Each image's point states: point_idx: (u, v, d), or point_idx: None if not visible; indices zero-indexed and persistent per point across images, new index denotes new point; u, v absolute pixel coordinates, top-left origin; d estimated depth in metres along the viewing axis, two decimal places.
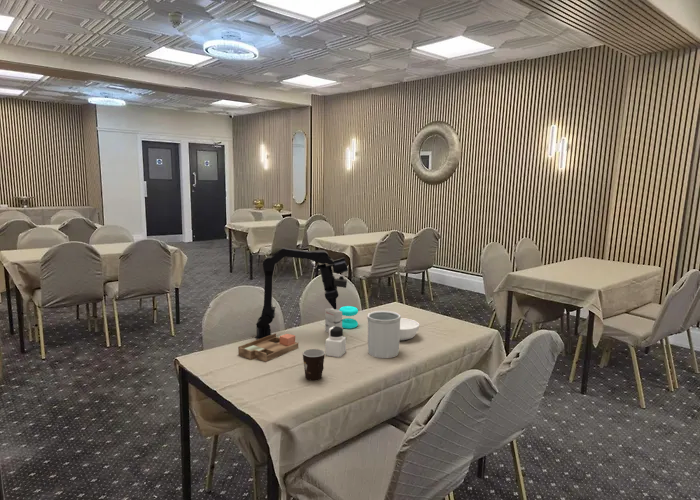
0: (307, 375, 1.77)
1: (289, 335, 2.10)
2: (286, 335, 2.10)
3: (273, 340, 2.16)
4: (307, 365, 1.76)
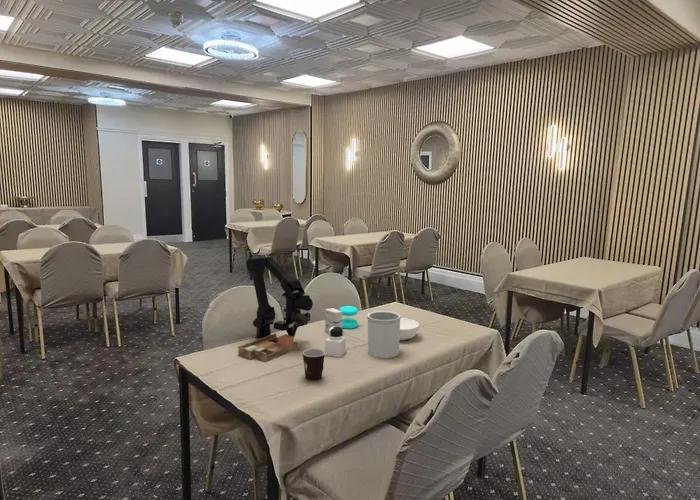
0: (307, 375, 1.77)
1: (287, 336, 2.09)
2: (284, 336, 2.09)
3: (273, 340, 2.16)
4: (307, 365, 1.76)
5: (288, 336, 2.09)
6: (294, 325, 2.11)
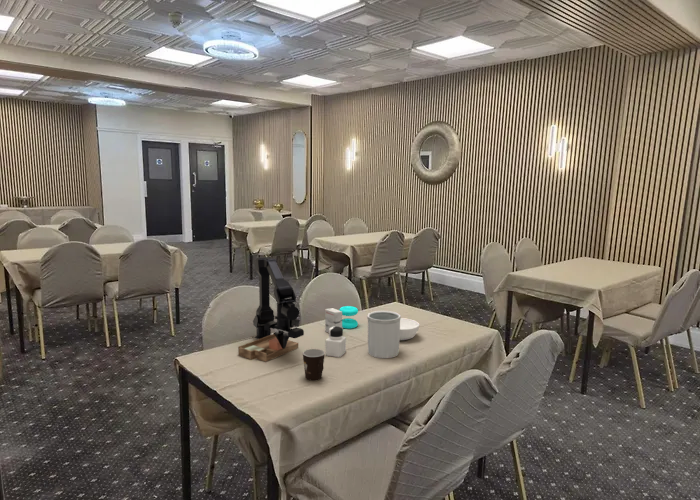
0: (307, 375, 1.77)
1: None
2: (276, 339, 2.04)
3: None
4: (307, 365, 1.76)
5: None
6: (283, 332, 2.02)
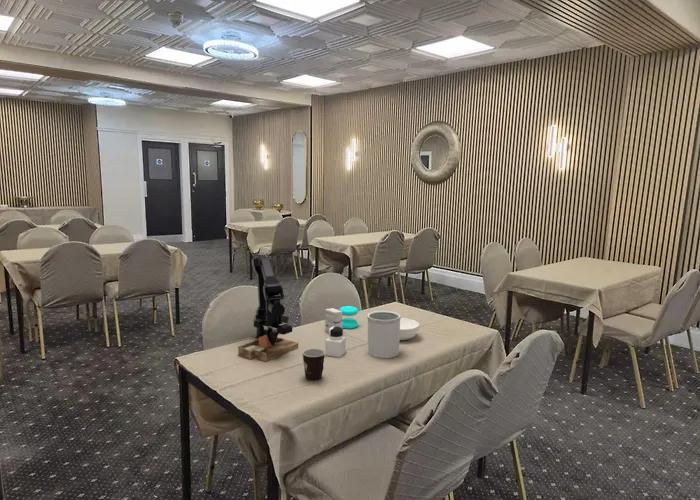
0: (307, 375, 1.77)
1: None
2: (265, 336, 2.08)
3: None
4: (307, 365, 1.76)
5: None
6: (273, 329, 2.05)
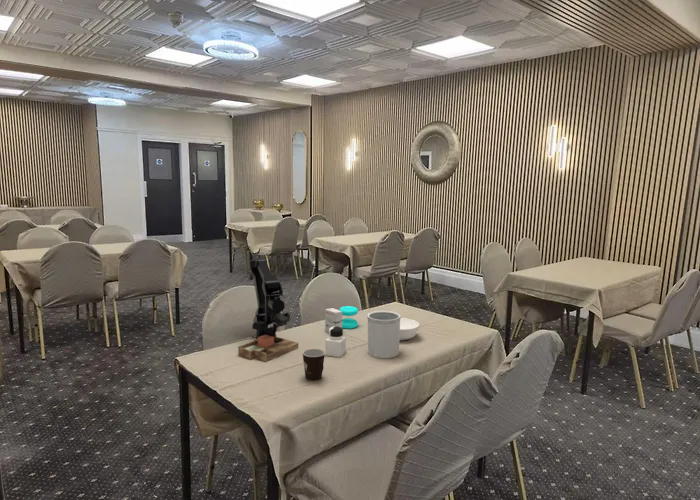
0: (307, 375, 1.77)
1: (267, 336, 2.08)
2: (264, 336, 2.08)
3: None
4: (307, 365, 1.76)
5: (268, 336, 2.07)
6: (274, 325, 2.10)
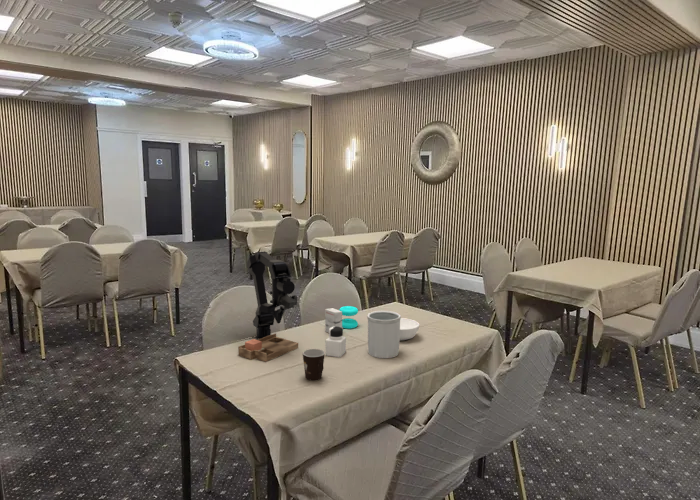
0: (307, 375, 1.77)
1: (255, 341, 2.02)
2: (252, 341, 2.02)
3: (273, 340, 2.16)
4: (307, 365, 1.76)
5: (256, 341, 2.01)
6: (281, 308, 2.07)
